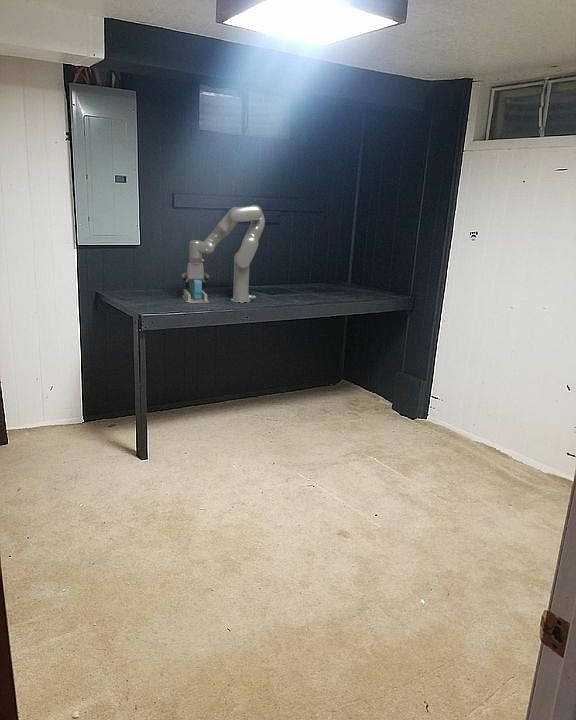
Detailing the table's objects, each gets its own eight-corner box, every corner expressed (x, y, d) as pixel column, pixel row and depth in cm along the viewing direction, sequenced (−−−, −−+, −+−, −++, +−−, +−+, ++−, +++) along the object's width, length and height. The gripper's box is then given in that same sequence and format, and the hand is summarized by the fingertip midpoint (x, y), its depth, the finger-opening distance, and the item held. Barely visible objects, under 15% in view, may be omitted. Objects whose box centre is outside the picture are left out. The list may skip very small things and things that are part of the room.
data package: (201, 300, 361) (202, 280, 358) (194, 300, 360) (194, 280, 356) (196, 296, 372) (197, 277, 368) (189, 296, 370) (189, 277, 367)
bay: (181, 296, 373) (181, 289, 371) (203, 296, 377) (203, 289, 376) (186, 302, 355) (186, 294, 353) (209, 302, 359) (209, 295, 358)
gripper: (208, 260, 365) (207, 287, 370) (180, 259, 360) (180, 287, 365) (210, 261, 358) (210, 289, 363) (182, 261, 353) (182, 289, 358)
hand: (195, 288), depth 364 cm, fingers open, 9 cm apart
